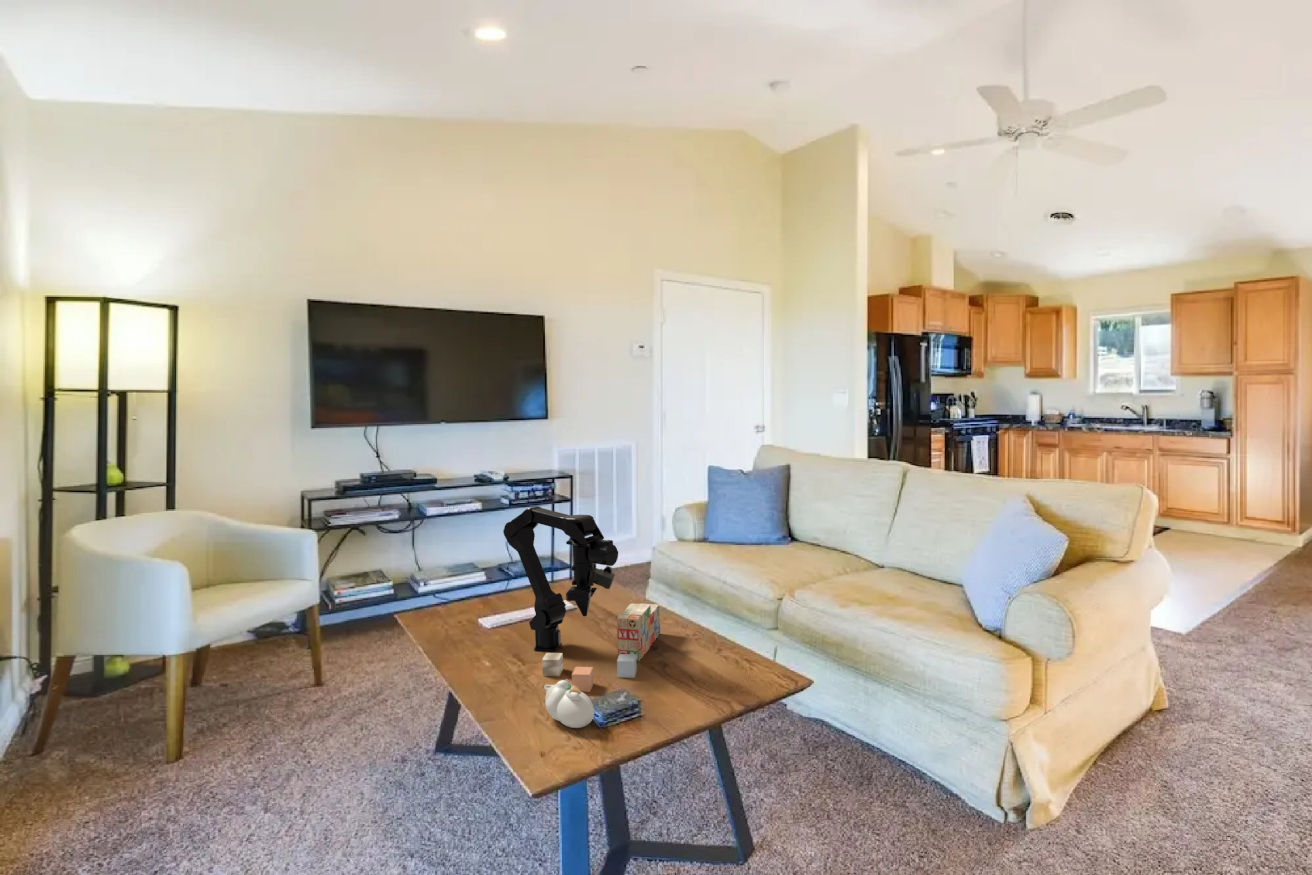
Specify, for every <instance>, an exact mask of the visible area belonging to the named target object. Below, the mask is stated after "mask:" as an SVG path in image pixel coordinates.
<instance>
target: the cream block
mask: <svg viewBox="0 0 1312 875" xmlns="http://www.w3.org/2000/svg"><path fill="white" fill-rule="evenodd" d="M541 663H542V664H541V666H542V668H541V669H542V676H543V677H561V674H562V672H563V671H564V654H563V652H546V653H545V655H544V656H543V657H542V659H541Z"/></svg>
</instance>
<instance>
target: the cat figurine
mask: <svg viewBox="0 0 1312 875" xmlns="http://www.w3.org/2000/svg"><path fill="white" fill-rule="evenodd" d="M543 688H544V691H545V698H544V704H545V708H546V710H547V712H548V714H549V716H551V718H553V719H554V720H555V721H558V722H560V723H561V724H562V725H564V726H566V727H568V728H573V729H580V728H584V727H586V726H587V725H589V724H590V723H591V722H592V720H593V719H594V715H595V709H594V705H593V702H592V701H591V700H592V699H591V698H590V697H589V696H588V695H587V694H586V693H585V692H581V691H580V689H579V688H578V687H577V686H573V685H572V683H570V680H569V679H568V678H566V679H564V680H563V679H562V680H559V681H558V682H557V683H555V684H544V686H543Z"/></svg>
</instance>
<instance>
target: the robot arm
mask: <svg viewBox="0 0 1312 875" xmlns="http://www.w3.org/2000/svg"><path fill="white" fill-rule="evenodd" d="M539 524H540V525H541V526H542V525H543V526H546V527H549V528H553V529H554V528H555V529H557V530H560V531H563V533H564V534H565V535H566V536H568V537H569V538H568V540H567V541H566V542H565V544H566V545H570V546H572V566H571V568H570V569H571V571H572V572H573V573H572V574H573V580H572V581H571V587H569V589H568V590H567V591H566V593H565V600H566V601H567V602H575V603H576V606H577V607H578V609H579V611H580V614H581V615H582V617H587V616H588V613H589V607H590V603H591V598H592V597H593V596H594V594H595V592H596V591H597V589H598V588H597V587H593V586H594V584H595V585H597V586H599V587H603V588H604V589H607V590H610V589H611V588H612V585H613V582H614V579H615V577H616V575H615V573H614V572H613V568H612V566H614V565H615V564H616V563H617V561H618V557H619V551H618V548H617V546H616V545H615V544H614V541H613V540H611V539H605V536H604V535H603V534H602V532H601V529H600V528H599V526H598V525H597V523H596V521H595V519H594V517H593V516H592V515H590V514H565V513H562V512H558V511H555V510H550V509H547V508H542V507H541V506H538V505H535V506H531V507H528V508H526V509H525V510H524V511H522V512H521V513H520V514H519V515H518V516H515V518H512V520H510V521H508V522H506V523H505V525H504V528H503V531H502V532H503V536H504V538H505V539H506V541H507V543H508V545H509V546H510V547H511V548H512V549H513V550H515V551H516V552H517V554H518V556H519V558H520V561H521V563H522V568H524V569H523V570H524V571H525V574H526V576H527V578H528V581H529V584H530V587H531V589H532V592H533V595H534V597H535V598H534V607H533V609H534V613H535V615H534V616H533V618H532V619H531V620H530V621H529V623H528V624H529V627H530V629H531V630H533V631H534V635H535V636H534V637H535V640H534V641H535V647H533V651H535V650H536V652H537V651H539V652H542V651H543V652H544V651H545V652H549V651H550V652H555V651H557V650H558V648H559V647H560V645H561V644H562V641H561V640H562V639H561V629H559V625H562V624H563V622H564V618H565V616H566V613H567V609H566V606H567V604H566V603H565V600H564V598H563V595H562V593H561V592H559V593H555V592H554V591H553V589H552V588H551V586H550V583H549V580H548V578H547V576H546V572H545V571H544V568H543V566H542V563H541V561H540V558H539V556H538V553H537V551H536V548H535V545H534V544H535V537H536V536H535V530H534V529H535V528H536V527H537V526H538V525H539ZM597 565H602V566H605V567H604V568H598V567H597Z"/></svg>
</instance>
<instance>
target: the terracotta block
mask: <svg viewBox="0 0 1312 875" xmlns="http://www.w3.org/2000/svg"><path fill="white" fill-rule="evenodd" d="M571 684H572V685H573V686H577V687H578V688H579V689H580V691H581V692H583V693H586V692H588V693H590V692H591V690H592V688H593V687H594V667H593V666H575V667H574V668H573V671H572V673H571Z"/></svg>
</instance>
